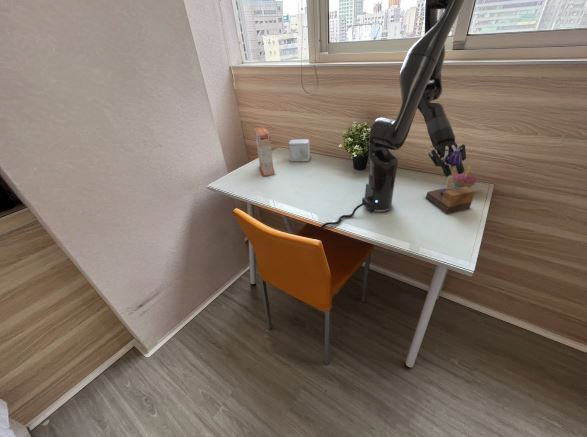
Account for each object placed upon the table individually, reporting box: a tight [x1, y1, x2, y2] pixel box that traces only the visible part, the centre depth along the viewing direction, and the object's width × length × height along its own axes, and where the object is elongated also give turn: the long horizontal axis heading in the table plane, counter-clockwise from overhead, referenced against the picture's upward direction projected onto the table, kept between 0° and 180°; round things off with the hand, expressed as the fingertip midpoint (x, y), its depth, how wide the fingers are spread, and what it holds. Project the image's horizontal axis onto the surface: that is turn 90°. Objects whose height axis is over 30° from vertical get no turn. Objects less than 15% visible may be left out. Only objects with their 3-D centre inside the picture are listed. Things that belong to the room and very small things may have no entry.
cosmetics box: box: [288, 138, 311, 162], centre depth 148 cm, size 10×6×10 cm, turn 80°
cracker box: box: [253, 126, 275, 177], centre depth 137 cm, size 14×6×21 cm, turn 13°
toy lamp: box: [440, 151, 463, 195], centre depth 99 cm, size 5×5×17 cm
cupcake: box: [452, 164, 477, 189], centre depth 108 cm, size 9×8×12 cm
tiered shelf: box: [425, 186, 476, 215], centre depth 102 cm, size 10×12×8 cm
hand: (455, 174), depth 97 cm, fingers closed on toy lamp, 4 cm apart
